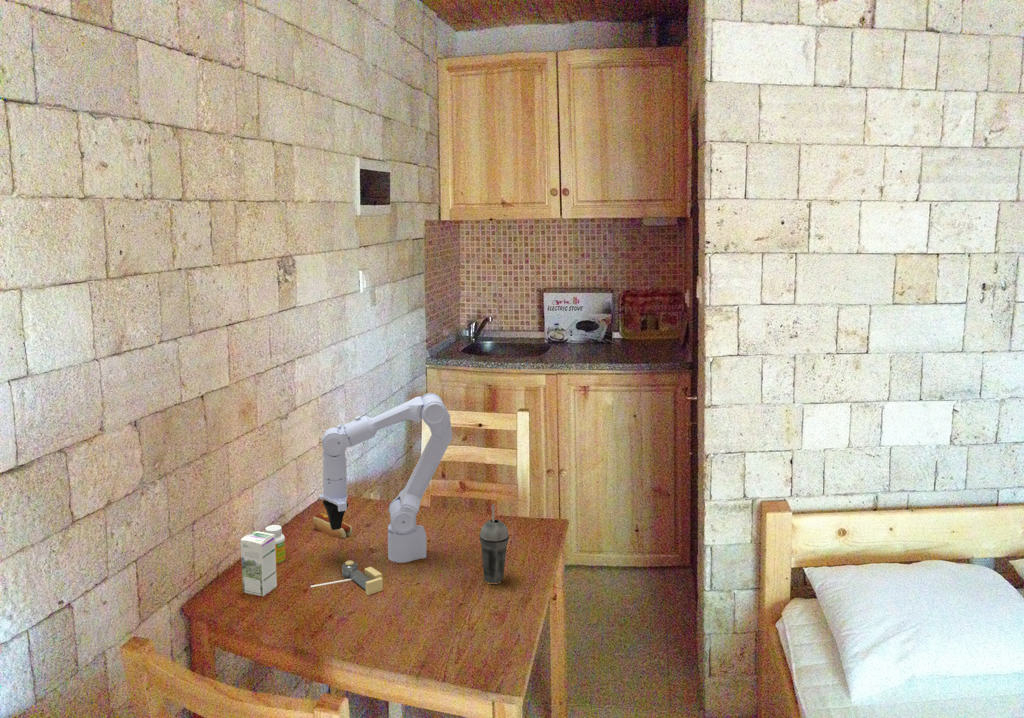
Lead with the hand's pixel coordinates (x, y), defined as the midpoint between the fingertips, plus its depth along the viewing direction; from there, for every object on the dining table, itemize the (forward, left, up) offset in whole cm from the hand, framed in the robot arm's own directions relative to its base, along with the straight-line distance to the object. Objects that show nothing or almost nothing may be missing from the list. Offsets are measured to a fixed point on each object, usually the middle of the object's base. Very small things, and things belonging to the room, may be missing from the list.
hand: (335, 528), depth 208 cm
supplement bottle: (+14, -7, -10) cm, 19 cm away
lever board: (+1, +13, -10) cm, 17 cm away
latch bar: (-2, +13, -9) cm, 16 cm away
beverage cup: (-33, +23, -10) cm, 41 cm away
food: (-4, -20, -10) cm, 22 cm away
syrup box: (+20, +8, -10) cm, 24 cm away
